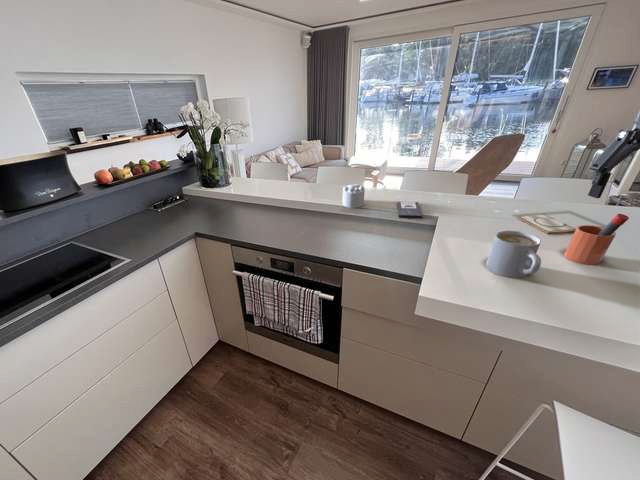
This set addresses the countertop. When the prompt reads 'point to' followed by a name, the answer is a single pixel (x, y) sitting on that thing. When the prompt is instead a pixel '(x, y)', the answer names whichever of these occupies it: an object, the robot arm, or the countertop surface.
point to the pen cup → (588, 245)
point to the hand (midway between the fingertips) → (620, 194)
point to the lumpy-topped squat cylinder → (353, 196)
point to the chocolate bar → (409, 209)
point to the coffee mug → (514, 254)
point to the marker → (614, 224)
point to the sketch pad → (546, 224)
